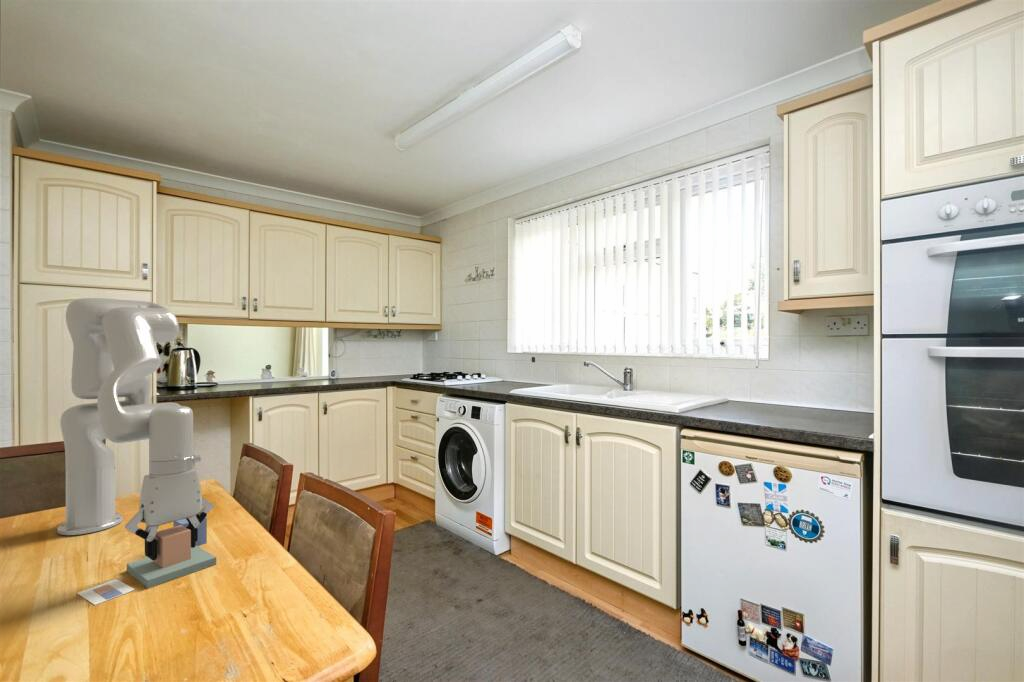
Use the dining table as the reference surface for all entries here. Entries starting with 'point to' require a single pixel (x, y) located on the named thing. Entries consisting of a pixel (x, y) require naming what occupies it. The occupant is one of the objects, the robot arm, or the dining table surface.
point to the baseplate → (169, 568)
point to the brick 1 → (173, 546)
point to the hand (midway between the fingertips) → (172, 551)
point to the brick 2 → (201, 530)
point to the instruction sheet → (105, 591)
